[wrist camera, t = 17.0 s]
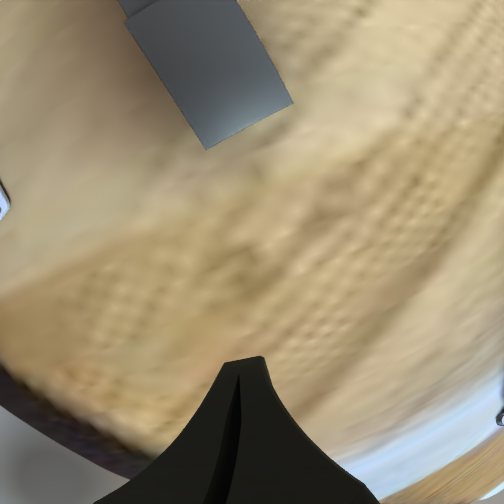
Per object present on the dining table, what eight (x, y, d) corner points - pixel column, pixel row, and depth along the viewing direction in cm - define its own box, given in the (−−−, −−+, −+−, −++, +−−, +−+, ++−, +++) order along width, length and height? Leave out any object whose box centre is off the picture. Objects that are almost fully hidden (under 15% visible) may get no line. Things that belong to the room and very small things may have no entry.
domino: (205, 150, 16) (123, 22, 11) (205, 142, 17) (130, 25, 13) (293, 103, 15) (217, -29, 11) (285, 99, 16) (215, -21, 12)
